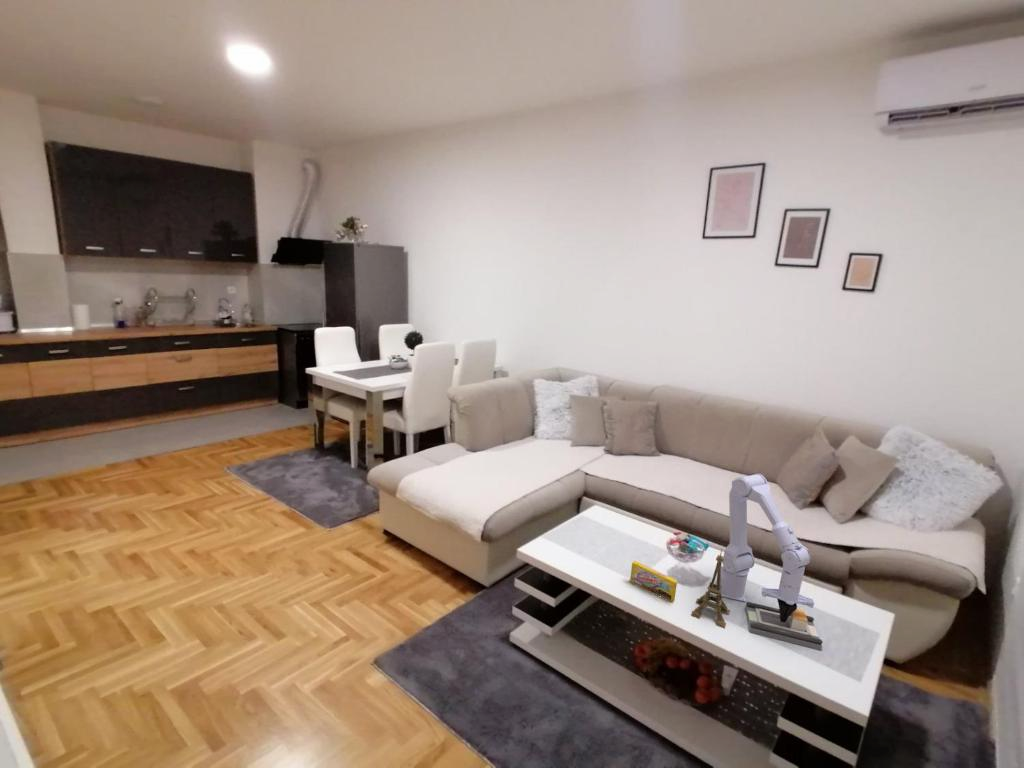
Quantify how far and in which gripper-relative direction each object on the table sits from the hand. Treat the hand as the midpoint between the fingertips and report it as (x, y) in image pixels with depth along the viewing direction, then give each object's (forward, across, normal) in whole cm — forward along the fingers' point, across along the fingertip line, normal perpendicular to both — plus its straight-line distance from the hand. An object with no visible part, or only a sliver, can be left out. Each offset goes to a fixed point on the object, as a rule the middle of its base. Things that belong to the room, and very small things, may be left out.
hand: (782, 620), depth 163 cm
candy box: (+3, -41, +3) cm, 41 cm away
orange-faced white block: (+1, +4, 0) cm, 4 cm away
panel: (+3, 0, 0) cm, 3 cm away
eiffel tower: (+3, -21, -2) cm, 22 cm away
